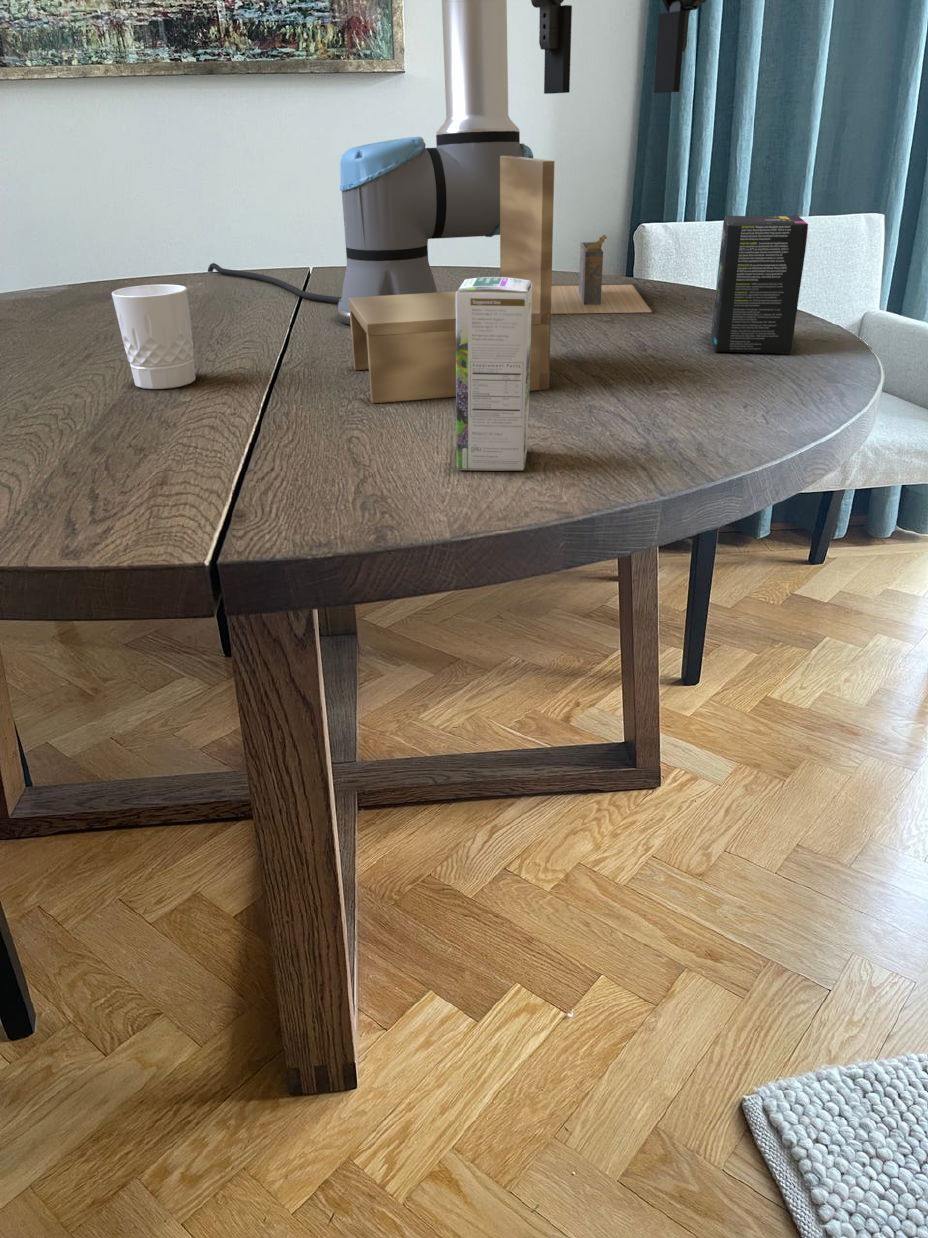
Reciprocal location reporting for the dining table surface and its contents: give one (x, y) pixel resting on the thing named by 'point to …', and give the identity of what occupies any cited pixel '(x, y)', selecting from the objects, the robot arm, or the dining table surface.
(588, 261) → the ruin model on sheet
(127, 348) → the white cup
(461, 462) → the syrup box
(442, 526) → the dining table surface
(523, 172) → the shelf
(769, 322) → the tampon box
